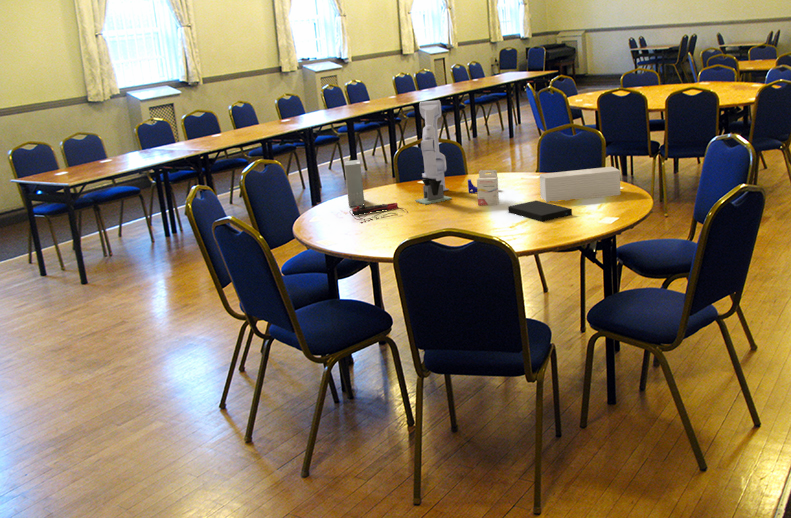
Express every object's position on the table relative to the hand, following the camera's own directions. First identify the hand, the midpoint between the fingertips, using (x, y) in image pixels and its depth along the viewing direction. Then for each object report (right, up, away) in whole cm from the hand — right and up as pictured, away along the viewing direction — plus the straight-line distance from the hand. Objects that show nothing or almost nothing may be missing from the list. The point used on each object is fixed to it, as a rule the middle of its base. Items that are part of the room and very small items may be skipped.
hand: (432, 194), depth 334 cm
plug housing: (0, -2, +1) cm, 2 cm away
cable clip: (+24, +2, +11) cm, 26 cm away
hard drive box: (-36, -3, +13) cm, 38 cm away
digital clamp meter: (-25, -11, -15) cm, 32 cm away
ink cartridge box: (+24, -6, -18) cm, 30 cm away
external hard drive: (+41, -12, -44) cm, 61 cm away
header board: (0, -3, +1) cm, 3 cm away
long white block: (+63, -3, -21) cm, 66 cm away
